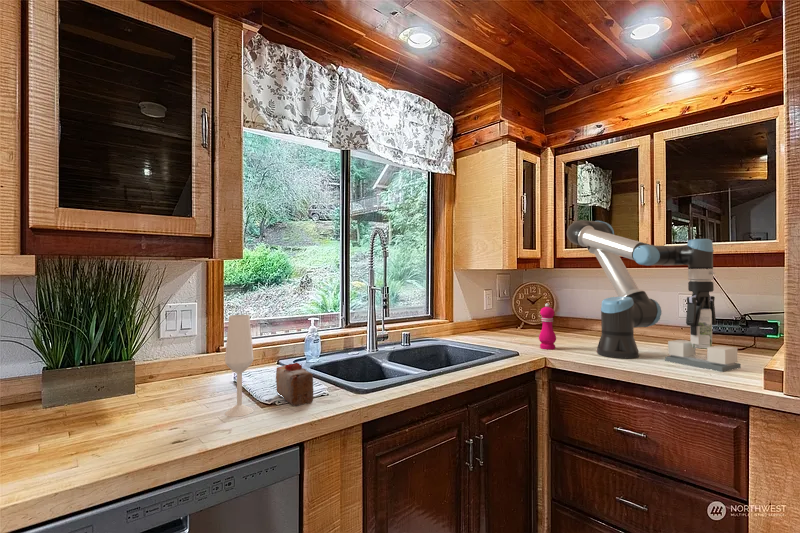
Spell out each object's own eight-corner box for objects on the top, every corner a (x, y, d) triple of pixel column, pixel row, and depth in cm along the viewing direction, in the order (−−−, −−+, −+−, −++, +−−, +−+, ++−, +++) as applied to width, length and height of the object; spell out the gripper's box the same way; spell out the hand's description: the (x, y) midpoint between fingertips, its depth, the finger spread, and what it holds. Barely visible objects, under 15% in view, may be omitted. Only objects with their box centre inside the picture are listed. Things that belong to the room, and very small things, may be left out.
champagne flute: (221, 417, 98) (221, 317, 99) (228, 408, 105) (228, 314, 105) (251, 415, 100) (251, 316, 100) (255, 406, 106) (255, 314, 106)
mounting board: (665, 360, 157) (665, 356, 157) (683, 357, 162) (683, 353, 162) (722, 371, 140) (722, 367, 140) (740, 367, 145) (740, 363, 145)
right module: (707, 361, 146) (707, 347, 146) (719, 358, 149) (719, 345, 149) (725, 364, 141) (725, 349, 141) (737, 361, 144) (737, 347, 144)
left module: (668, 354, 158) (668, 341, 158) (680, 352, 161) (680, 339, 161) (683, 356, 153) (683, 343, 153) (695, 354, 156) (695, 341, 156)
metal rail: (670, 355, 158) (670, 353, 158) (678, 354, 161) (678, 352, 161) (727, 366, 141) (727, 363, 141) (735, 364, 144) (735, 362, 144)
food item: (272, 395, 116) (272, 360, 116) (299, 390, 121) (299, 356, 121) (289, 408, 105) (289, 369, 105) (318, 402, 110) (318, 365, 110)
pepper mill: (535, 348, 182) (535, 303, 182) (544, 346, 187) (543, 302, 187) (551, 350, 177) (550, 304, 177) (559, 348, 182) (558, 303, 182)
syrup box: (710, 347, 152) (710, 308, 152) (712, 350, 147) (711, 309, 147) (691, 346, 155) (691, 307, 155) (692, 348, 150) (692, 308, 150)
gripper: (696, 281, 143) (696, 347, 143) (727, 280, 152) (728, 342, 152) (673, 281, 150) (674, 343, 150) (704, 280, 159) (705, 339, 159)
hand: (701, 342), depth 151 cm, fingers closed on syrup box, 7 cm apart
